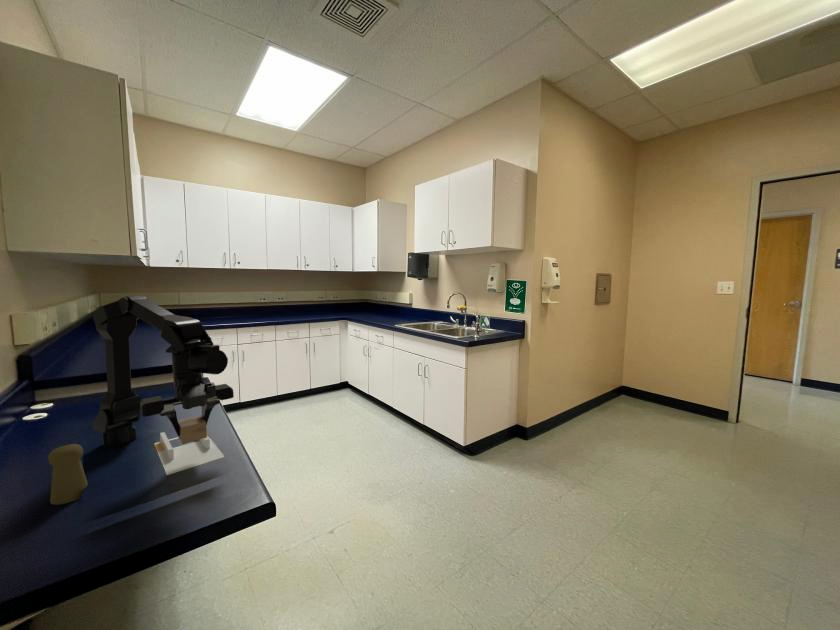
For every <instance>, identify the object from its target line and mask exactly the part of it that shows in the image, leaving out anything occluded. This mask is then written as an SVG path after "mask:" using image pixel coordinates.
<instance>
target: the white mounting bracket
mask: <svg viewBox="0 0 840 630" xmlns="http://www.w3.org/2000/svg"><path fill="white" fill-rule="evenodd" d="M159 435H160V436H159V437H160V438H159V439H160V441H157V442H155V443H153V444H154V447H155V449H156V452H157V454H158V456H159V459H160V462H161V465H162V466H163V469H164V471H165V474H166V476H169V475H172V474H175V473H178V472H182V471H185V470H188V469H192V468H195V467H197V466H200V465H204V464H207V463H210V462H213V461H216V460H219V459H223V458H225V455H224V454H223V453H222V451H221V450H220V448H219V447H217V446H218V445H216V443H215V442H214V441H213V440H212V439H211V437H209V435H208V434H207V438H203V439H200V440H196V441H192V442H189V443H185V444H182V445H179V446H175V447H173V445H172V444H171V442H170V441H174V440H178V439H179V437H178V436H177V437H174V438H168V436H167V434H166V432H165V431H162V432H160V433H159Z"/></svg>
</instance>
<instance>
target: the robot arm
mask: <svg viewBox="0 0 840 630" xmlns="http://www.w3.org/2000/svg"><path fill="white" fill-rule="evenodd" d="M92 319H93V322H94V326H95V330H96V331H97V333H99V334H100V335H101V336H102V338H104V349H105V371H106V383H107V384H106V387H107V388H106V389H107V390H106V391H107V392H106V393H105V395H104V396H103V398H102V399H101V401H100V403H99V411H98V413H97V414H96V416H95V418H94V419H93V420H92V422H91V424H92V428H93V431H95V432H99V433H102V441H103V442H102V443H103V448H104V449H106V448H114V447H119V446H124V445H125V444H129V443H130V442H133V441H136V440H137V431H136V427H135V425H133V423H137V422H139V421H140V418H141V415H142V417H145V418H146V417H150V416H156V415H159V416H160V417H166V418H167V419H168V420H169V421H170V423H171V425H172V427H173V429H174V432H175V433H176V435H177V437H178V436H180V429H179V425H178V416H177V411H176V409H175V408H174V407H175V406H178V405H181V407H182V408H183V409H184V410H191V409H194V408H196V407H201V417H202V418H203V419H204V420H205V422H206V426H207V425H208V422H209V419H210V416H211V413H212V411H213V409H214V407H215V406H217V405H220V403H221V401H225V400H230V399H233V398H234V388H233V387H232V386H229V384H227V383H222V384H216V383H215V382H209V383H204V381H203V377H202V374H206V375H207V374H208V375H220V374H222V373H223V372H224V371H225V370H226V368H227V367H228V363H229V361H228V360H229V358H228V357H227V354H226V353H225V352H224V351H223V350H221V349H220V345H219V344H214V342H213V341H212V338H211V337H210V335H209V333H208V332H207V331H206V329H205V327H204V326H203V323H202V322H201V321H200V320H198V319H197V318H192V317H189V316H182V315H177V314H175V313H172V312H170V311H169V310H168V309H166V308H163V307H162V306H160V305H158V304H156V303H154V302H153V301H151V300H149V299H148V297H147V296H143V295H127V296H124V297H120V299H118V300H116V301H113V302H109V303H107V304H104V305H102V306H99V307H97V310H95V311H94V312H93V314H92ZM139 319H140V320H141V321H143V322H145V323H147V324H148V325H150V326H152V327H154V328H155V329H157V330H158V331H159V332H160V333H159V334H160V337H161V338H162V339H163V340H164V341H165V342H167V343H168V344H169V345H170V346H169V347H167V348H166V350H165V353H167V354H171V360H172V361H171V363H172V377H173V390H174V397H169V398H165V399H163V398H162V396H161V395H158V396H152V397H147V398H142V397H141V396H140V395H138V394H137V393H136V392H134V390H133V389H132V374H131V370H132V369H131V354H130V353H131V351H130V338H131V336H132V335H133V333H134V332H135V330H136V329H137V323H138V320H139Z"/></svg>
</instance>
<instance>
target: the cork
mask: <svg viewBox="0 0 840 630" xmlns="http://www.w3.org/2000/svg"><path fill="white" fill-rule="evenodd" d="M83 455H84V449H83V446H82V445H80V444H77V443H71V444H66V445H65V444H64V445H61V446H59V447H56V448H54V449H52V450H51V451H50V452H49V454H48V457H47V458H48V459H47V460H48V463H49V465H51V466H52V475H51V485H50V486H51V487H50V501H49V503H50V504H51V505H56V506H58V505H65V504H68V503H72V502H74V501H77V500H79V499H81V498H83V493H84V492H83V490H84V489H85V488H87V487H88V485H89V483H88V480H87V477H86V474H85V471H84V466H83V464H82V460H81V458H82V456H83Z"/></svg>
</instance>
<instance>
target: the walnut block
mask: <svg viewBox="0 0 840 630" xmlns="http://www.w3.org/2000/svg"><path fill="white" fill-rule="evenodd" d="M177 420H178V419H177ZM178 425H179V429H180V436H178V435H177V437H179V438H178V439H179V440H180V441H181V443H182V445H186V444H189V443H193V442H197V441H199V440H200V439H203V438H207V435H208V434H207V431H208V430H207V425H206V422H205V420H204V419H203V418H202V415H200V414H199V415H194V416H192V417H187V418H183V419H179V420H178Z"/></svg>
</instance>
